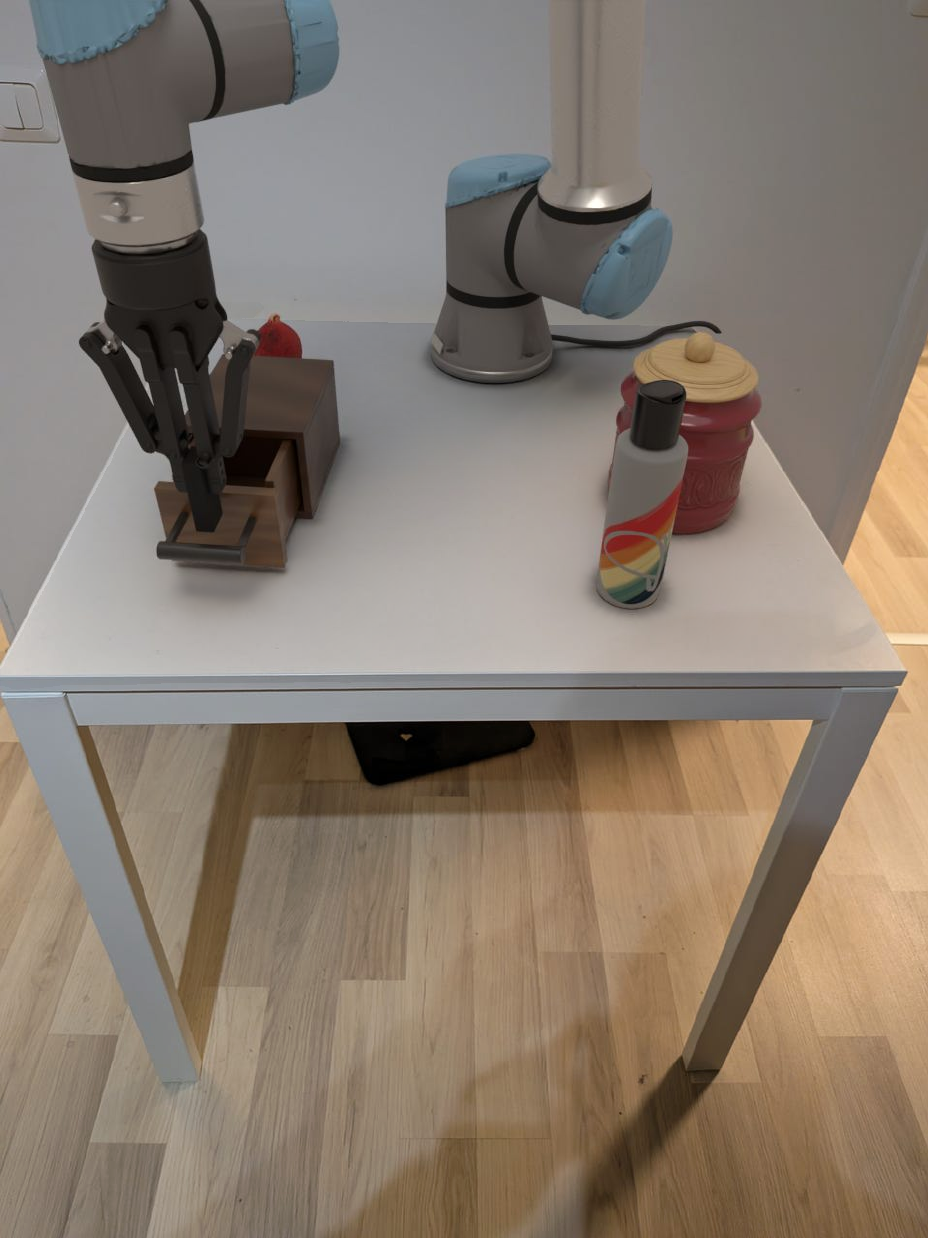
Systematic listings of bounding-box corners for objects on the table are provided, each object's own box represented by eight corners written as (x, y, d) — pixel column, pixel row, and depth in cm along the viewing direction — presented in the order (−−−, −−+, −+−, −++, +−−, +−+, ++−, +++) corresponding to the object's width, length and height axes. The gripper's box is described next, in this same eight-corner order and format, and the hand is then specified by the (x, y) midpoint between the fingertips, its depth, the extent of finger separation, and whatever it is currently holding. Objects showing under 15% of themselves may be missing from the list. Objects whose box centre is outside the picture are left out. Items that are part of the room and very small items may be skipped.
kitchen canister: (752, 489, 96) (796, 325, 84) (707, 553, 88) (748, 381, 76) (637, 452, 101) (663, 292, 89) (583, 509, 93) (604, 341, 81)
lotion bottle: (630, 619, 80) (667, 412, 67) (582, 587, 84) (609, 383, 70) (672, 592, 83) (716, 388, 70) (624, 562, 86) (657, 361, 73)
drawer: (269, 611, 79) (257, 537, 74) (149, 603, 80) (129, 528, 74) (315, 485, 93) (308, 416, 88) (213, 479, 94) (200, 410, 89)
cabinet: (312, 519, 91) (303, 432, 84) (196, 511, 91) (178, 425, 85) (340, 441, 102) (333, 359, 95) (236, 435, 102) (222, 353, 96)
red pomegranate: (295, 392, 110) (288, 327, 104) (249, 386, 111) (239, 322, 105) (311, 370, 114) (305, 306, 109) (266, 365, 115) (258, 302, 110)
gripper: (28, 250, 59) (117, 545, 75) (229, 259, 59) (276, 554, 74) (75, 210, 65) (148, 492, 81) (258, 217, 64) (296, 500, 80)
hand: (209, 522), depth 77 cm, fingers closed
